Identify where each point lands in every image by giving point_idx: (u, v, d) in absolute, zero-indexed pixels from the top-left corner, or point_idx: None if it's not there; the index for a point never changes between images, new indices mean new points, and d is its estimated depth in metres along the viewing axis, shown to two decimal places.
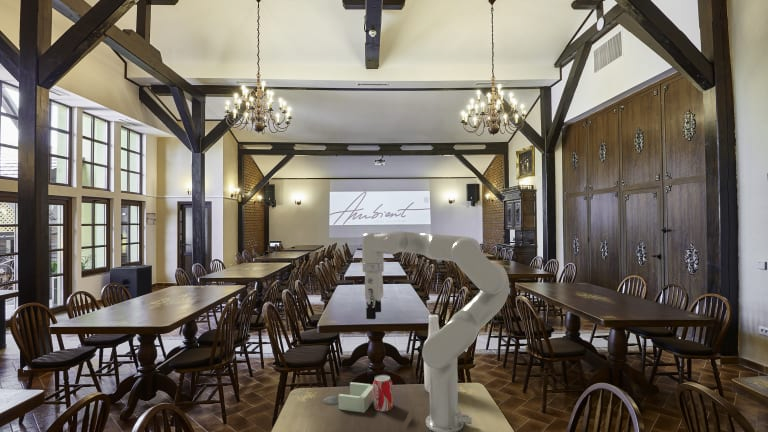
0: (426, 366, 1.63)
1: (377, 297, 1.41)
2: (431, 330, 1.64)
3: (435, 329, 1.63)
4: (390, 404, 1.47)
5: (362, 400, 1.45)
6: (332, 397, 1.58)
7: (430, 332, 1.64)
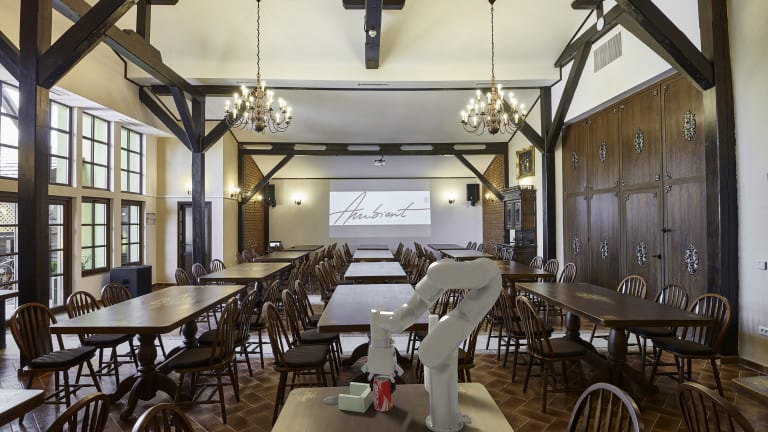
0: None
1: None
2: None
3: None
4: (390, 404, 1.47)
5: (362, 400, 1.45)
6: (332, 397, 1.58)
7: None
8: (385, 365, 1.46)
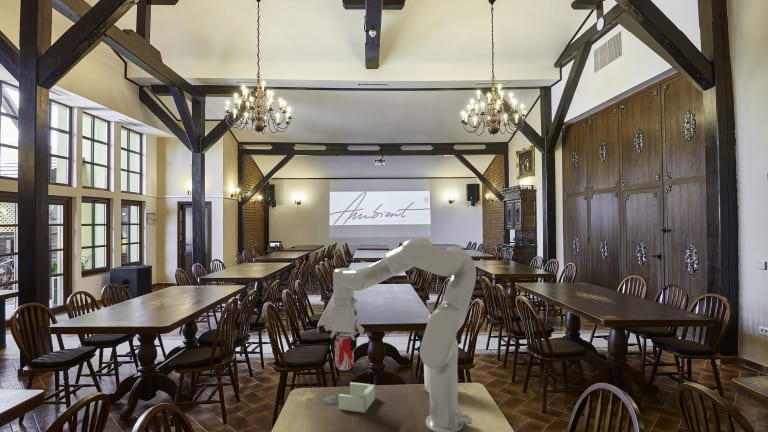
0: (426, 366, 1.63)
1: None
2: None
3: None
4: (350, 361, 1.52)
5: (362, 400, 1.45)
6: (332, 397, 1.58)
7: None
8: (346, 323, 1.51)
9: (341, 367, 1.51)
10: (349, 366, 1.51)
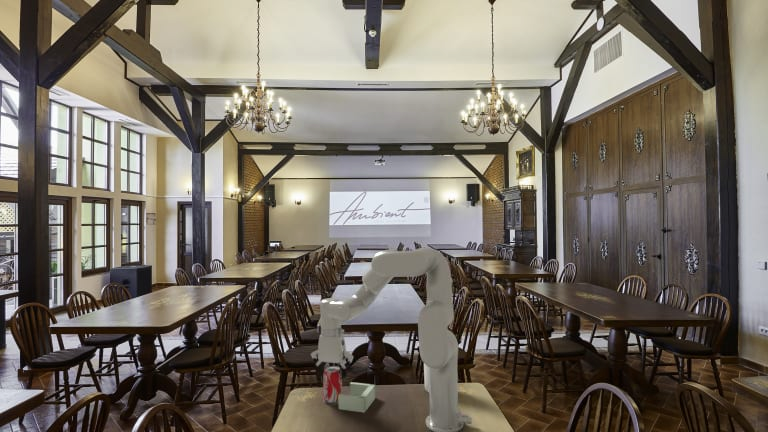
0: (426, 366, 1.63)
1: None
2: None
3: None
4: None
5: (362, 400, 1.45)
6: None
7: None
8: (334, 353, 1.53)
9: (329, 400, 1.52)
10: (337, 399, 1.53)
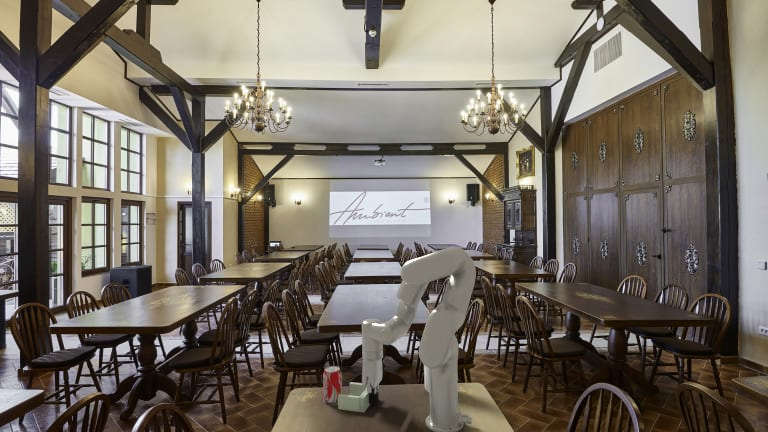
0: None
1: None
2: None
3: None
4: None
5: (361, 400, 1.45)
6: None
7: None
8: (381, 372, 1.52)
9: (329, 400, 1.52)
10: (337, 399, 1.53)
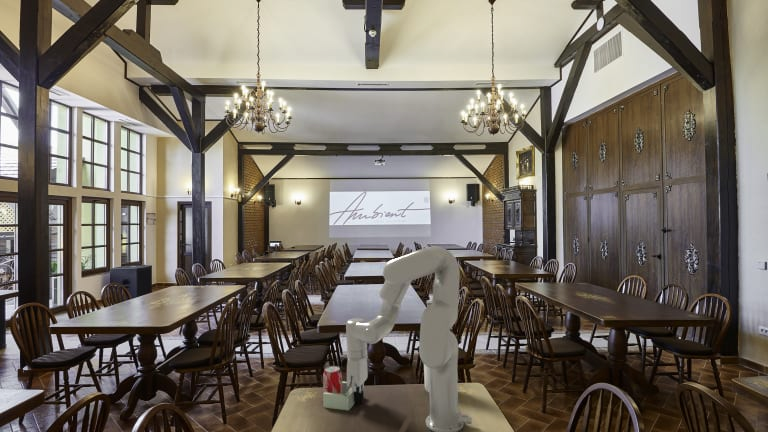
0: (426, 366, 1.63)
1: None
2: None
3: None
4: None
5: (346, 398, 1.47)
6: None
7: None
8: (365, 371, 1.54)
9: None
10: None
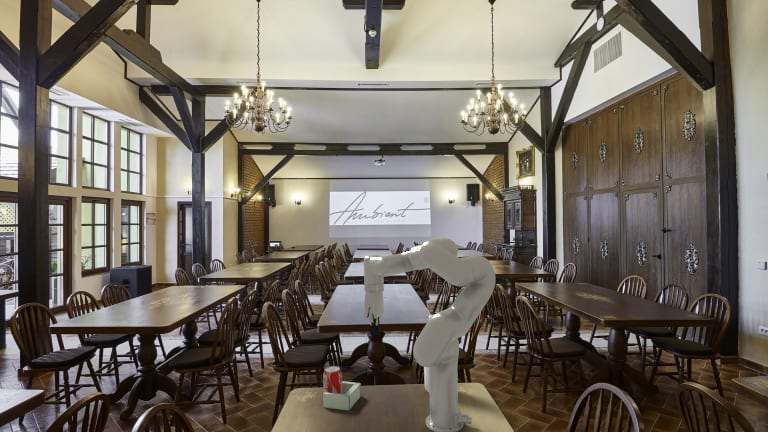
0: None
1: None
2: None
3: None
4: None
5: (346, 398, 1.47)
6: None
7: None
8: (382, 305, 1.60)
9: None
10: None
